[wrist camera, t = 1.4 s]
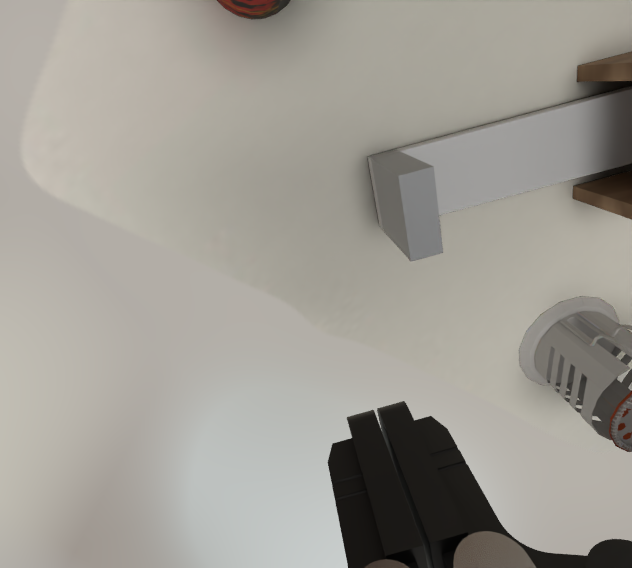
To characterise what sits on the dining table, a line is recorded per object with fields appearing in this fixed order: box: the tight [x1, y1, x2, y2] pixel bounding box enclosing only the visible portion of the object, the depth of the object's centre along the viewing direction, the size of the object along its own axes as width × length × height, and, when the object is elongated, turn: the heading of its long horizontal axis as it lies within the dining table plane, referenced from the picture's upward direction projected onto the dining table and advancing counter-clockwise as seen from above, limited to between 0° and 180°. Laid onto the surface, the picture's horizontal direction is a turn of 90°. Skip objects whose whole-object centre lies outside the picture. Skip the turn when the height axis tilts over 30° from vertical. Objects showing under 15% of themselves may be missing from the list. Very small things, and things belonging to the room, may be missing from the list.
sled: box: [368, 86, 632, 261], centre depth 28 cm, size 5×28×7 cm, turn 103°
